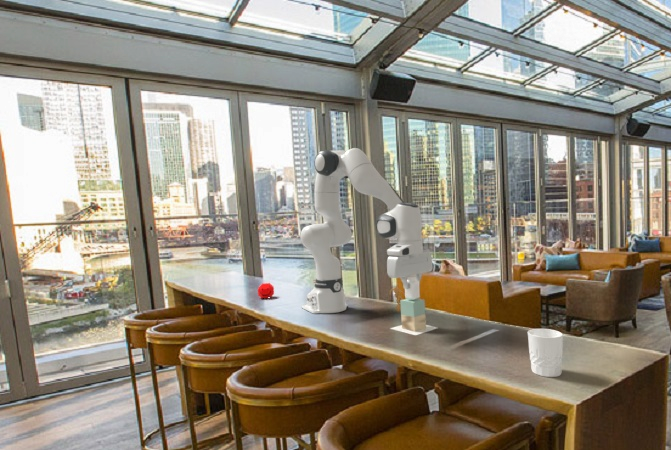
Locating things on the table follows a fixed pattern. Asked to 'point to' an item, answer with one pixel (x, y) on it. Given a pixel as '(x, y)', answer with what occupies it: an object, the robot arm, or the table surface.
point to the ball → (265, 290)
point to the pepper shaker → (412, 288)
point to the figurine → (396, 290)
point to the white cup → (545, 352)
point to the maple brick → (413, 322)
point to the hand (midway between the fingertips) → (411, 287)
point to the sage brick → (412, 307)
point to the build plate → (428, 328)
